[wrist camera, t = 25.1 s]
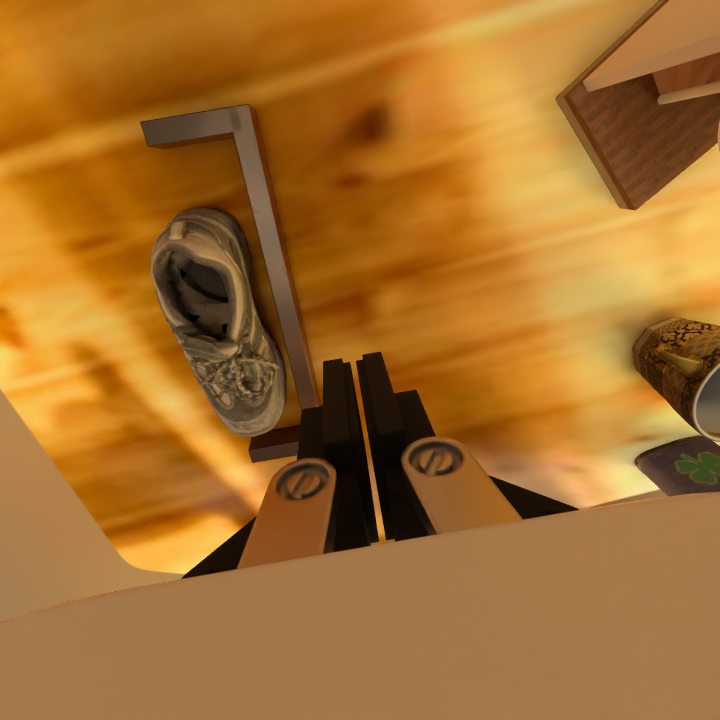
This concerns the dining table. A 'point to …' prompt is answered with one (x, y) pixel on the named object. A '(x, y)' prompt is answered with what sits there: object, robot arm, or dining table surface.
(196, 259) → the hiking shoe
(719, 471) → the flask
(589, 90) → the cream pedestal stand
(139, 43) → the dining table surface
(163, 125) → the bracket
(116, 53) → the dining table surface
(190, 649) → the robot arm
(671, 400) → the ceramic cup
